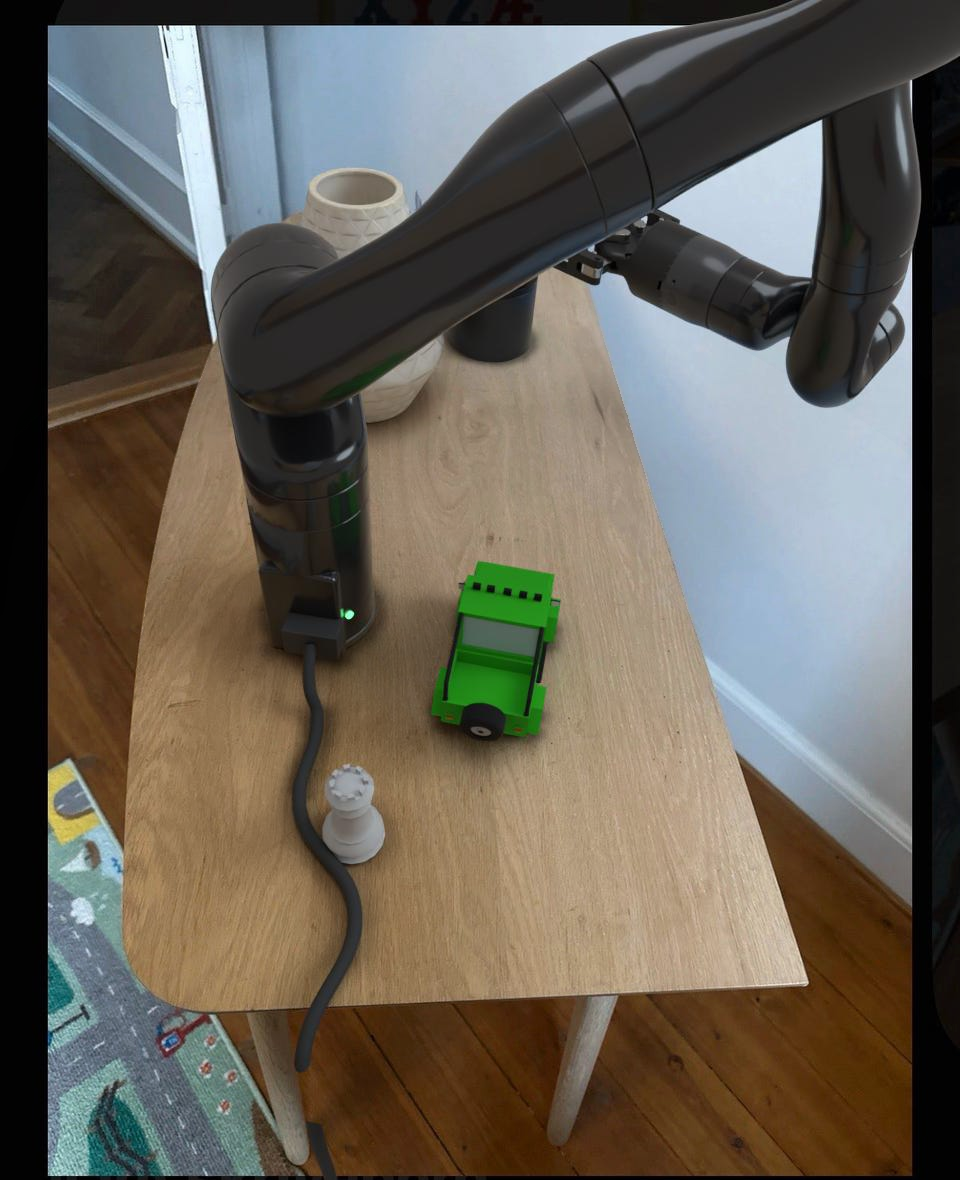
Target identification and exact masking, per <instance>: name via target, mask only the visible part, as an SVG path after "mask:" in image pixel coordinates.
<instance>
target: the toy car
mask: <svg viewBox="0 0 960 1180" xmlns="http://www.w3.org/2000/svg"><path fill="white" fill-rule="evenodd" d="M555 575H556V574H555V573H549V572H544V571H540V570H539V571H538V570H534V569H528V568H524V567H523V568H522V567H517V566H511V565H505V564H499V563H493V562H489V561H482V560H477V561H476V566H475V568H474V572H473V574H467V576H466V580H465V581H463V582H458V584H457V585H458V590H461V591H460V594H459V597H458V601H457V609H456V616H455V621H454V625H455V629H454V633H453V639H452V643H451V646H450V652H449V657H448V661H447V666H446V667H443V666H440V667H439V670H438V671H439V672H438V675H437V677H436V678H437V679H436V682H435V685H434V689H433V690H434V691H433V695H432V696H433V697H432V705H431V711H430V715H432V716H437V717H440V722H442V723H446V724H447V723H448V724H452V725H458V726H459V729H460V731H461V733H462V734H463V735H465V736H466V737H468V738H470V739H472V740H475V741H478V742H484V743H487V742H496V741H498V740H500V739H501V738H502V737H503V736H504V734H505V735H509V736H515V737H520V738H525V739H526V738H527V734H529V735H530V734H531V735H536V736H539V733H540V729H541V727H540V726H541V722H542V717H543V713H544V712H543V711H544V704H545V699H546V693H547V687H548V686H546V685H539V684H540V683H541V682H542V678H543V673H544V668H545V662H546V655H547V650H548V645H547V644H549V643H553V644H554V641H555V637H556V630H557V625H558V620H559V616H560V615H559V614H560V609H561V603H562V599H561V598H554V597H552V595H553V588H554V581H555Z"/></svg>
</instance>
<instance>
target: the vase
mask: <svg viewBox="0 0 960 1180" xmlns="http://www.w3.org/2000/svg"><path fill="white" fill-rule="evenodd" d="M409 216H410V208H409V205H408V201H407V196H406V194H405V190H404V186H403V184H402V182H400V180H399V179H397V178H396V177H395V176H393V175H391V174H389V173H387V172H385V171H381V170H378V169H374V168H369V167H368V168H367V167H359V166H357V167H356V166H354V167H353V166H352V167H339V168H333V169H329V170H326V171H323V172H321V173H319V174H317V175H316V176H314V177H312V179H310V181H309V183H308V186H307V190H306V196H305V202H304V207H303V212H302V216H301V217H302V218H301V222H300V226H301V227H304V228H307V229H309V230H311V231H313V232H315V233H317V234H319V235H320V236H322V237H323V238H324V239H326V240H327V241H328V242H329V243H330V244H331V245H332V246H333V247H334V248H335V249H336V250H337V251H338V252H339V254H340V255H341V256H342V257H344V256H346V255H348V254H350V253H352V252H353V251H355V250H357V249H359V248H360V247H362V246H364V245H366V244H368V243H369V242H371V241H373V240H375V239H376V238H378V237H380V236H382V235H384V234H385V233H387V232H388V231H390V230H391V229H393V228H394V227H396V226H397V225H399V224H400V223H401V222H403V221H404V220H405V219H406V218H408V217H409ZM444 350H445V338H444V333H443V334H442V335H440V336H439V337H437V338H436V339H434V340H433V341H432V342H430V343H429V344H427V345H426V346H425V347H423V348H422V349H420V350H419V351H418V352H416V353H415V354H413V355H412V356H411V357H409V358H408V359H406V360H405V361H404V362H402V363H401V364H400V365H398V366H397V367H395V368H394V369H393V370H391V371H390V372H388V373H387V374H386V375H384V376H383V377H381V378H380V379H379V380H377V381H376V382H375V383H373V384H372V385H370V386H369V387H367V388H366V389H364V390H363V391H361V399H362V404H363V410H364V415H365V420H366V424H369V423H370V424H371V423H379V422H384V421H387V420H390V419H392V418H395V417H397V416H399V415H400V414H402V413H404V412H405V411H406V410H407V409H408V408H409V407H410V405H411V404H412V403H413V401H414V399H415V398H416V397H417V395H418V394H419V392H420V391H421V390H422V389H423V388H424V386H425V384H426V383H427V381H428V380H429V378H430V377H431V375H432V374H433V372H434V371H435V369H436V368H437V367H438V365H439V364H440V362H441V360H442V357H443V354H444Z"/></svg>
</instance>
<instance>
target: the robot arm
mask: <svg viewBox="0 0 960 1180" xmlns="http://www.w3.org/2000/svg"><path fill="white" fill-rule="evenodd" d="M958 57H960V0H791V1H788V2H786V3H783V4H781V5H778V6H775V7H772V8H769V9H766V10H762V11H758V12H755V13H750V14H745V15H741V16H736V17H732V18H725V19H719V20H713V21H705V22H702V23H695V24H690V25H689V24H688V25H683V26H678V27H677V26H676V27H672V28H667V29H663V30H659V31H654V32H653V31H652V32H650V33H646V34H642V35H638V36H634V37H630V38H628V39H625V40H622V41H619V42H617V43H615V44H612V45H610V46H607V47H605V48H603V49H601V50H599V51H597V52H596V53H594V54H592V55H590V56H588V57H587V58H586V59H584V60H581V61H579V62H578V63H577V64H574V65H573V66H571V67H570V68H568V69H567V70H564V71H563V72H561V73H559V74H558V75H556V76H554V77H553V78H551V79H550V80H548V81H546V82H545V83H543V84H541V85H539V86H538V87H537V88H534V89H533V90H532V91H530V92H528V93H527V94H525V95H524V96H523V97H522V98H520V99H518V100H517V101H516V102H515V103H513V104H512V105H510V106H509V107H508V108H507V109H505V111H504V112H502V113H500V115H499V116H498V117H497V118H496V119H495V120H494V121H493V122H492V123H491V124H490V125H489V126H488V127H487V129H485V130H484V132H483V133H482V134H481V135H479V137H478V138H477V140H476V141H475V142H474V143H473V144H472V146H470V148H469V149H468V150H467V151H466V153H465V154H464V155H463V156H462V157H461V159H460V160H459V162H458V163H457V164H456V165H455V166H454V167H453V169H452V170H451V171H450V173H449V174H448V175H447V176H446V178H445V179H444V180H443V181H442V182H441V184H440V185H438V187H437V189H435V191H433V193H432V194H431V195H430V196H429V197H428V198H427V199H426V200H425V201H423V204H422V205H421V206H420V207H419V208H418V209H417V210H416V211H415V212H414V213H413V214H411V215H410V216H409V217H408V218H406V219H405V220H404V221H403V222H401V223H400V224H399V225H397V226H396V227H394V228H393V229H391V230H390V231H388V232H387V233H385V234H384V235H382V236H380V237H378V238H376V239H375V240H373V241H371V242H369V243H368V244H366V245H364V246H362V247H360V248H359V249H357V250H355V251H353V252H352V253H350V254H348V255H346V256H344V257H342V256H341V255H340V254H339V252H338V251H337V250H336V249H335V248H334V247H333V246H332V245H331V244H330V243H329V242H328V241H327V240H326V239H324V238H323V237H322V236H320V235H319V234H317V233H315V232H313V231H311V230H309V229H307V228H304V227H301V225H298V224H293V223H286V222H274V223H265V224H260V225H257V226H255V227H252V228H250V229H248V230H246V231H244V232H243V233H241V234H240V235H238V236H237V237H236V238H234V240H232V241H231V242H230V243H229V245H228V246H227V247H226V248H225V249H224V251H223V252H222V254H221V255H220V257H219V259H218V261H217V262H216V265H215V267H214V270H213V273H212V277H211V282H210V283H211V284H210V301H211V302H210V303H211V310H212V315H213V316H212V317H213V322H214V327H215V332H216V337H217V343H218V349H219V354H220V359H221V365H222V371H223V375H224V381H225V386H226V394H227V400H228V406H229V413H230V418H231V424H232V429H233V434H234V440H235V446H236V450H237V455H238V460H239V466H240V472H241V476H242V477H241V478H242V482H243V487H244V494H245V499H246V501H245V502H246V506H247V511H248V518H249V523H250V528H251V533H252V539H253V540H252V541H253V546H254V550H255V557H256V562H257V567H258V578H259V583H260V584H259V585H260V589H261V595H262V601H263V606H264V611H265V612H264V613H265V617H266V618H265V619H266V623H267V628H268V632H269V634H268V635H269V638H270V644H271V647H274V648H279V649H284V652H285V653H291V654H297V655H303V657H302V688H303V694H304V695H303V696H304V697H305V700H306V702H307V706H308V708H309V711H310V729H309V736H308V740H307V744H306V747H305V749H304V752H303V755H302V757H301V760H300V763H299V765H298V767H297V770H296V773H295V777H294V780H293V785H292V790H291V806H292V807H291V809H292V813H293V814H292V815H293V818H294V821H295V825H296V827H297V829H298V831H299V834H300V835H301V837H302V839H303V840H304V842H305V843H306V844H307V846H308V848H309V849H310V850H311V851H312V853H313V854H314V855H315V856H316V857H317V859H319V861H320V862H321V863H322V864H323V865H324V867H325V868H326V869H327V871H328V872H329V873H330V874H331V875H332V876H333V878H334V879H335V881H336V883H337V885H338V886H339V888H340V891H341V892H342V895H343V898H344V902H345V905H346V913H347V924H346V925H347V926H346V933H345V937H344V940H343V944H342V946H341V949H340V951H339V954H338V956H337V957H336V960H335V962H334V963H333V965H332V967H331V968H330V970H329V972H328V974H327V976H326V977H325V979H324V980H323V982H322V984H321V986H320V987H319V989H318V991H317V993H316V995H315V996H314V998H313V1000H312V1002H311V1004H310V1006H309V1008H308V1010H307V1012H306V1013H305V1014H306V1015H305V1017H304V1019H303V1022H302V1025H301V1028H300V1030H299V1035H298V1038H297V1042H296V1047H295V1053H294V1060H293V1067H294V1070H295V1071H296V1072H298V1073H299V1074H303V1073H305V1072H307V1070H308V1069H309V1068H310V1067H311V1059H312V1052H313V1047H314V1046H313V1045H314V1042H315V1038H316V1035H317V1031H318V1028H319V1026H320V1024H321V1020H322V1018H323V1016H324V1014H325V1012H326V1011H327V1008H328V1006H329V1004H330V1002H331V1000H332V998H333V997H334V995H335V994H336V991H337V990H338V988H339V986H340V985H341V983H342V982H343V979H344V978H345V976H346V974H347V972H348V970H349V969H350V967H351V964H352V962H353V960H354V959H355V955H356V953H357V951H358V947H359V945H360V941H361V938H362V937H361V936H362V932H363V931H362V930H363V906H362V901H361V900H362V899H361V897H360V894H359V890H358V887H357V885H356V883H355V881H354V878H353V877H352V875H351V874H350V872H349V871H348V870H347V868H346V866H344V863H343V862H340V860H339V859H338V858H337V857H336V856H335V855H334V853H333V852H332V851H331V850H330V849H329V848H328V847H327V845H326V844H325V843H324V842H323V838H322V837H320V835H319V834H318V832H317V831H316V829H315V827H314V825H313V824H312V821H311V819H310V817H309V813H308V807H307V800H306V796H307V793H306V792H307V785H308V781H309V777H310V774H311V771H312V768H313V765H314V763H315V760H316V757H317V755H318V752H319V749H320V746H321V742H322V738H323V731H324V708H323V705H322V702H321V699H320V697H319V694H318V691H317V684H316V661H317V660H316V659H317V658H321V659H327V660H333V661H339V660H340V658H342V657H343V656H344V655H345V652H346V650H347V649H348V648H349V647H351V646H352V645H354V644H355V643H357V642H359V640H361V639H362V638H363V637H364V636H365V635H366V634H367V633H368V632H369V631H370V628H372V625H373V623H374V621H375V617H376V598H375V591H374V572H373V571H374V569H373V543H372V518H371V517H372V516H371V496H370V494H371V493H370V492H371V491H370V490H371V489H370V487H371V485H370V466H369V465H370V463H369V460H370V459H369V435H368V427H367V423H366V420H365V415H364V410H363V404H362V399H361V391H363V390H364V389H366V388H367V387H369V386H370V385H372V384H373V383H375V382H376V381H377V380H379V379H380V378H381V377H383V376H384V375H386V374H387V373H388V372H390V371H391V370H393V369H394V368H395V367H397V366H398V365H400V364H401V363H402V362H404V361H405V360H406V359H408V358H409V357H411V356H412V355H413V354H415V353H416V352H418V351H419V350H420V349H422V348H423V347H425V346H426V345H427V344H429V343H430V342H432V341H433V340H434V339H436V338H437V337H439V336H440V335H442V334H443V335H444V334H445V333H446V332H447V331H448V332H449V329H450V328H452V327H454V326H455V325H457V324H458V323H460V322H461V321H463V320H464V319H466V318H467V317H469V316H471V315H472V314H474V313H476V312H477V311H479V310H481V309H482V308H484V307H486V306H488V305H489V304H491V303H493V302H494V301H496V300H498V299H500V298H501V297H503V296H505V295H507V294H508V293H510V292H512V291H513V290H515V289H517V288H518V287H520V286H522V285H523V284H525V283H527V282H528V281H530V280H532V279H533V278H535V277H537V276H538V277H539V276H540V275H542V274H543V273H545V272H547V271H548V270H550V269H552V268H553V269H555V270H557V271H559V272H562V273H564V274H566V275H569V276H571V277H573V278H575V279H577V280H579V281H581V282H584V283H586V284H588V285H591V286H593V287H594V286H599V285H600V284H601V280H602V276H603V275H605V274H607V273H609V274H611V275H617V276H619V277H620V276H621V277H623V278H624V280H625V282H626V284H627V287H628V290H629V292H630V293H631V295H633V296H634V297H635V298H638V299H640V300H641V301H644V302H646V303H648V304H650V305H652V306H654V307H656V308H657V309H660V310H662V311H664V312H666V313H668V314H670V315H672V316H674V317H676V318H678V319H681V320H682V321H684V322H687V323H689V324H691V325H694V326H697V327H701V328H704V329H706V330H708V331H711V332H713V333H714V334H716V335H719V336H720V337H722V338H725V339H727V340H728V341H730V342H732V343H735V344H736V345H739V346H741V347H743V348H745V349H748V350H750V351H755V352H760V351H764V350H767V349H768V348H771V347H773V346H774V345H776V344H777V343H779V342H781V341H782V340H785V339H787V338H789V339H788V342H787V345H786V346H787V347H786V351H785V371H786V376H787V379H788V382H789V384H790V386H791V388H792V389H793V391H794V393H795V394H796V395H797V396H798V397H799V398H800V399H801V400H803V401H804V402H805V403H807V404H810V405H811V406H814V407H818V408H821V409H830V408H837V407H841V406H844V405H846V404H848V403H849V402H851V401H853V400H854V399H855V398H856V397H858V396H859V395H860V394H861V392H863V390H865V388H866V387H867V386H868V385H869V383H870V382H872V380H873V379H874V378H875V376H876V375H877V374H878V373H879V372H881V370H882V369H883V368H884V366H885V365H886V364H887V363H888V362H889V361H890V360H891V358H892V357H893V356H894V355H895V354H896V352H897V351H898V350H899V348H901V345H902V344H903V341H904V339H905V335H906V325H905V320H904V318H903V315H902V314H901V312H900V310H899V309H898V307H897V306H896V305H895V304H894V301H895V300H896V298H897V296H898V295H899V294H900V291H901V290H902V287H903V285H904V282H905V280H906V277H907V273H908V269H909V265H910V261H911V257H912V253H913V248H914V244H915V240H916V236H917V232H918V228H919V227H918V226H919V221H920V214H921V204H922V185H921V184H922V183H921V172H920V161H919V155H918V147H917V141H916V134H915V128H914V122H913V111H912V100H911V99H912V98H911V81H913V80H915V79H917V78H919V77H921V76H924V75H926V74H928V73H930V72H932V71H934V70H937V69H938V68H940V67H942V66H945V65H946V64H948V63H950V62H951V61H953V60H955V59H957V58H958ZM820 121H821V181H820V183H821V184H820V197H819V206H818V214H817V215H818V217H817V223H816V224H817V225H816V231H815V240H814V247H813V255H812V263H811V275H810V277H809V276H798V275H790V274H785V273H782V272H780V271H778V270H777V269H774V268H772V267H770V266H767V265H765V264H763V263H760V262H759V261H756V260H754V259H752V258H749V257H747V256H746V255H744V254H741V253H740V252H739V251H737V250H736V249H734V248H733V247H731V246H729V245H728V244H725V243H724V242H722V241H719V240H717V239H714V238H713V237H709V236H707V235H705V234H703V233H701V232H699V231H696V230H694V229H692V228H690V227H688V226H685V225H683V224H680V223H681V220H680V219H679V218H678V217H675V216H673V215H671V214H669V213H667V212H665V211H663V210H661V209H660V208H663V206H666V205H667V204H668V203H670V202H671V201H673V200H675V199H676V198H678V197H679V196H681V195H682V194H685V193H686V192H688V191H690V190H691V189H692V188H694V187H696V186H698V185H700V184H702V183H704V182H706V181H707V180H709V179H710V178H713V177H714V176H717V175H718V174H720V173H722V172H724V171H726V170H728V169H730V168H731V167H734V166H736V165H737V164H740V163H741V162H743V161H745V160H747V159H749V158H751V157H753V156H754V155H756V154H758V153H759V152H761V151H763V150H766V149H767V148H769V147H771V146H773V145H774V144H776V143H778V142H780V141H782V140H785V139H786V138H787V137H790V136H791V135H793V134H795V133H798V132H799V131H801V130H803V129H805V128H807V127H810V126H811V125H814V124H815V123H818V122H820ZM645 217H646V219H647V220H646V222H645V221H644V220H643V218H645ZM593 246H594V247H593ZM591 247H593V250H592V251H590V250H589V248H591ZM305 1124H306V1125H305V1126H306V1130H307V1133H308V1139H309V1142H310V1145H311V1149H312V1152H313V1154H314V1157H315V1159H316V1162H317V1165H318V1167H319V1169H320V1171H321V1174H322V1177H323V1180H338V1176H337V1172H336V1168H335V1166H334V1163H333V1159H332V1157H331V1154H330V1152H329V1147H328V1145H327V1140H326V1137H325V1131H324V1126H323V1124H322V1123H317V1122H313V1121H310V1120H309V1121H308V1120H305Z"/></svg>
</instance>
